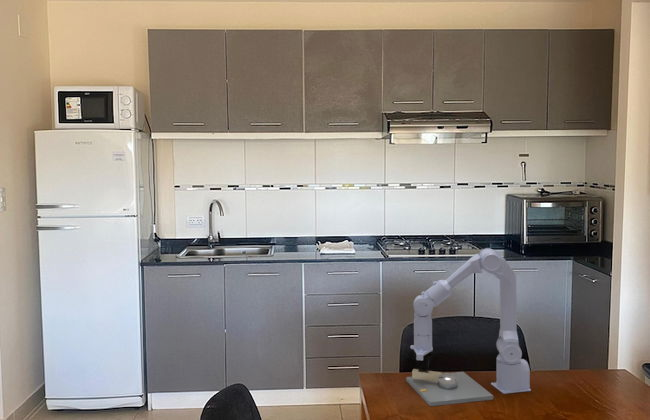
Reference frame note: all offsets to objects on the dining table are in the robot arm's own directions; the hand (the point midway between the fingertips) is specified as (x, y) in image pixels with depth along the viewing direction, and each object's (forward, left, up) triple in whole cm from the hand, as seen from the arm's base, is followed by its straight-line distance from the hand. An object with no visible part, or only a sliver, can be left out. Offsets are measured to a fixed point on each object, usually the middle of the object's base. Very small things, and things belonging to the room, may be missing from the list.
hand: (423, 375), depth 175 cm
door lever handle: (-2, +4, -2) cm, 5 cm away
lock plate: (-6, +6, -3) cm, 9 cm away
